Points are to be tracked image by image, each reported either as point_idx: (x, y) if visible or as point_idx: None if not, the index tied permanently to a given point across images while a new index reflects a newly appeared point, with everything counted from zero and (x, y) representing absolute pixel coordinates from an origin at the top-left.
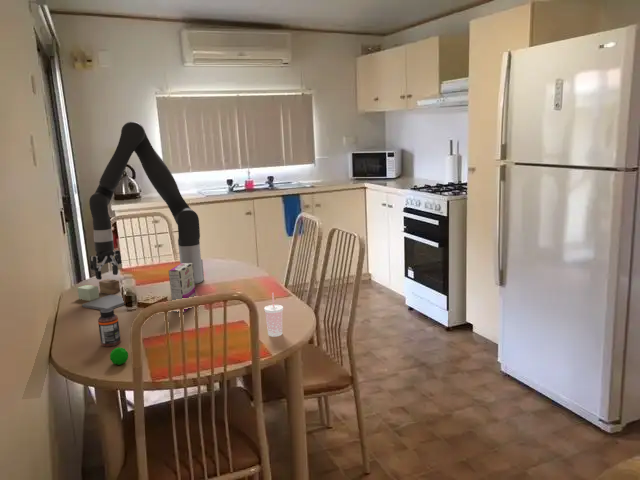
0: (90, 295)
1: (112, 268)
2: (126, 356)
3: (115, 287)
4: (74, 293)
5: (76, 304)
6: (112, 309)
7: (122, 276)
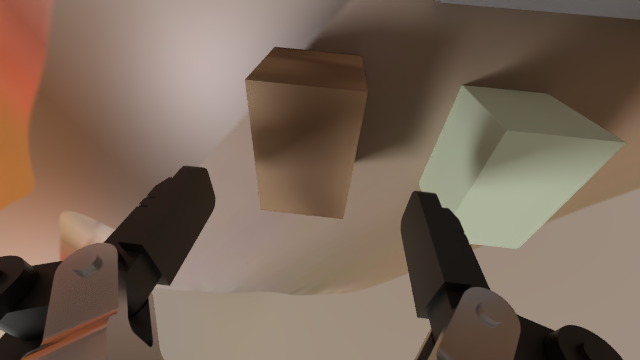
0: (571, 110)
1: (183, 257)
2: None
3: (312, 64)
4: (383, 253)
5: (625, 130)
6: None
7: (103, 235)
